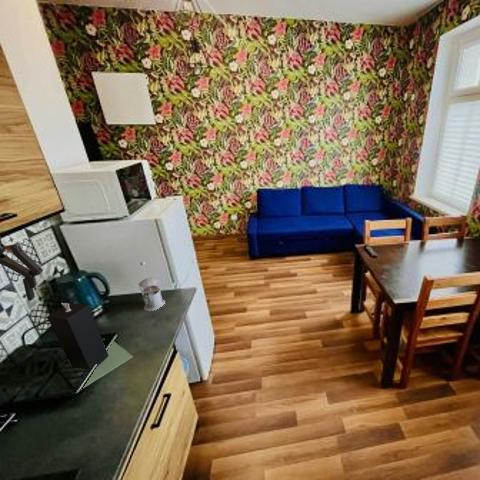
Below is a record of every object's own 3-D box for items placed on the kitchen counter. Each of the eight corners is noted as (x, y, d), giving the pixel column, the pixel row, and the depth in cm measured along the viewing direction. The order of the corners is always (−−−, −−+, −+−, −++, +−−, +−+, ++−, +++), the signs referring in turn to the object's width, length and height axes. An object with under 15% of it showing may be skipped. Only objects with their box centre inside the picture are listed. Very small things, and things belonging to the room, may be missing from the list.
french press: (151, 313, 130) (138, 268, 120) (137, 307, 135) (122, 263, 125) (169, 302, 138) (158, 259, 129) (155, 296, 143) (143, 255, 133)
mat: (54, 367, 101) (54, 366, 101) (109, 337, 115) (108, 337, 115) (77, 392, 91) (76, 391, 91) (133, 356, 106) (132, 356, 105)
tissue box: (92, 353, 106) (66, 295, 96) (109, 356, 105) (85, 297, 95) (72, 370, 99) (42, 308, 88) (91, 372, 98) (63, 310, 87)
